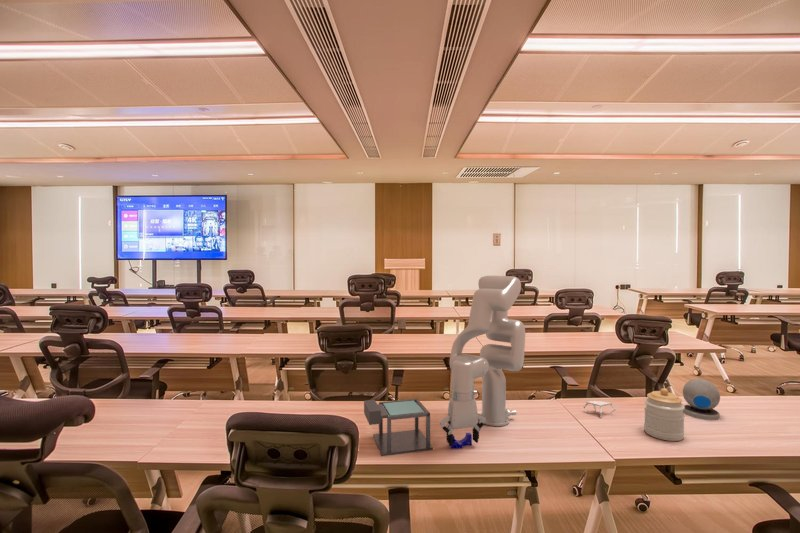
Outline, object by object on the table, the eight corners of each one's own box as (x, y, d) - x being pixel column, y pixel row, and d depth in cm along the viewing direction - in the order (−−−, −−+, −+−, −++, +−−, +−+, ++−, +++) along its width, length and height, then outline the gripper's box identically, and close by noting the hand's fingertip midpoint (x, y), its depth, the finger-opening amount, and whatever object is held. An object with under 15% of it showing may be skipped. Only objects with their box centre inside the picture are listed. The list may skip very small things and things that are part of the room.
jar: (689, 444, 147) (690, 395, 147) (649, 439, 151) (650, 392, 151) (677, 429, 160) (677, 384, 159) (639, 425, 164) (640, 381, 163)
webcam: (717, 412, 177) (718, 378, 177) (721, 422, 167) (722, 386, 166) (681, 406, 184) (682, 373, 184) (683, 415, 173) (683, 380, 173)
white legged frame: (593, 418, 170) (594, 407, 170) (582, 411, 179) (582, 400, 178) (620, 417, 172) (620, 406, 171) (608, 410, 180) (608, 399, 180)
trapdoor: (413, 407, 155) (413, 395, 155) (423, 419, 144) (423, 407, 143) (363, 412, 150) (363, 400, 150) (369, 425, 139) (369, 412, 139)
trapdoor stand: (419, 431, 158) (419, 398, 158) (432, 449, 143) (433, 413, 142) (373, 436, 153) (373, 402, 153) (381, 456, 138) (381, 418, 138)
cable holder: (451, 449, 143) (451, 438, 143) (448, 445, 147) (448, 434, 147) (473, 447, 145) (473, 436, 145) (469, 443, 148) (469, 432, 148)
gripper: (480, 389, 150) (480, 435, 150) (436, 393, 145) (436, 440, 146) (490, 396, 142) (489, 444, 143) (443, 400, 138) (443, 450, 138)
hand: (462, 442), depth 144 cm, fingers open, 9 cm apart
